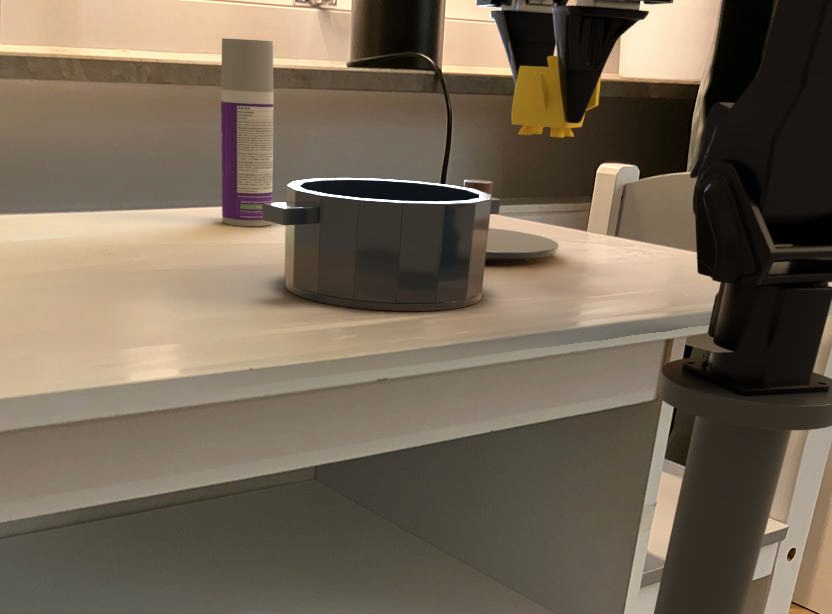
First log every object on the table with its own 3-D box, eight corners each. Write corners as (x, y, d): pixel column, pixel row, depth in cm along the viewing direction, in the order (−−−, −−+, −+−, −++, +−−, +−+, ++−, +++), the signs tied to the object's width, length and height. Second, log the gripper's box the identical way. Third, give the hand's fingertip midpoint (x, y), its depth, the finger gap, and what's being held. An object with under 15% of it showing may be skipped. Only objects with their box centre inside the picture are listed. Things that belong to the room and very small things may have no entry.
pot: (548, 297, 74) (561, 198, 71) (335, 323, 64) (340, 208, 60) (419, 265, 83) (426, 176, 80) (215, 283, 73) (214, 181, 69)
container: (217, 218, 100) (215, 38, 93) (265, 219, 102) (267, 41, 94) (227, 226, 96) (226, 38, 89) (277, 226, 98) (279, 41, 91)
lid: (592, 260, 90) (603, 189, 87) (469, 271, 82) (477, 194, 79) (473, 234, 100) (479, 170, 97) (353, 243, 92) (356, 173, 89)
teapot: (576, 140, 74) (587, 55, 71) (498, 134, 76) (506, 52, 73) (605, 137, 80) (616, 59, 78) (532, 132, 82) (541, 56, 80)
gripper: (773, -148, 65) (719, 132, 72) (618, -110, 80) (586, 117, 88) (614, -169, 62) (575, 126, 69) (484, -125, 77) (464, 112, 85)
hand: (551, 120), depth 78 cm, fingers closed on teapot, 6 cm apart
